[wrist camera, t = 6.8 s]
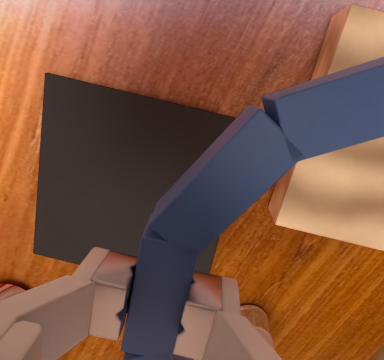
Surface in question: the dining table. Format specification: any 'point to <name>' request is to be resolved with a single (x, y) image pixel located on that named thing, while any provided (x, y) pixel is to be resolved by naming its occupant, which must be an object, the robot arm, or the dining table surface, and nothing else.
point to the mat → (111, 166)
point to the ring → (240, 189)
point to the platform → (340, 152)
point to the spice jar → (258, 321)
